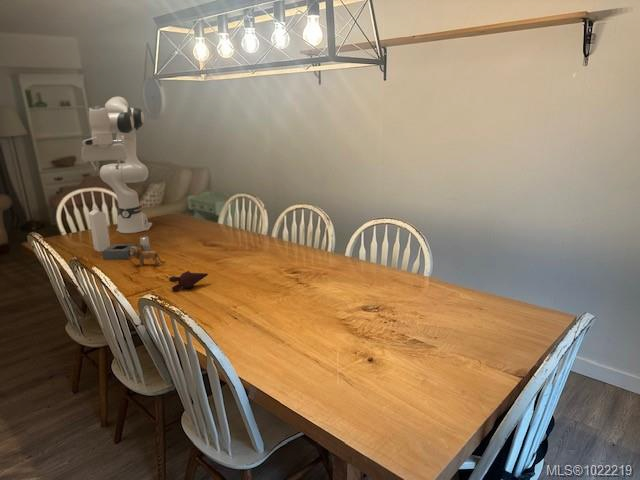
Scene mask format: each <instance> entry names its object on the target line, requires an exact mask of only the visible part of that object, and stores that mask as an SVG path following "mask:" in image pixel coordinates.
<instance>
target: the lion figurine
mask: <svg viewBox="0 0 640 480" xmlns="http://www.w3.org/2000/svg"><path fill="white" fill-rule="evenodd" d="M130 255H131V256H133V257H132V258H135V260H139V263H140V264H139V267H142V266H143V265H144V262H145V261H144V260H148V259H151V260H153V261H154V262H153V264H154V265H156V266H157V267H159V266H160V265H161V264H165V262H164V261H162V260H161V258H160V255H159V254H158V253H157V251H156V250H150V251H144V250H143V249H141V247H139V246H138V247H135V246H133V247H131V248H130ZM160 263H161V264H160Z"/></svg>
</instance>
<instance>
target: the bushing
mask: <svg viewBox="0 0 640 480" xmlns="http://www.w3.org/2000/svg"><path fill="white" fill-rule="evenodd" d="M139 243H140V248H141V249H143V250H144V251H151V245H150V240H149V236H145V235H143V236H140V237H139Z"/></svg>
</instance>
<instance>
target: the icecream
mask: <svg viewBox="0 0 640 480" xmlns="http://www.w3.org/2000/svg"><path fill="white" fill-rule="evenodd" d="M207 276H209V273H205V272H190V270H187V271H184V272H183V273H181V274H180V276H176V275H173V276H170V277H169V278H168V281H169V282H171V283H177V284H176V285H173V286H172V287H171V290H172V291H173V292H176V291H180V290H181V289H182V288H186V289H189V288H194V287H195V285H196V284H198V282H200V281H202V280H203V279H204V278H205V277H207Z"/></svg>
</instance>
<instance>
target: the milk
mask: <svg viewBox="0 0 640 480" xmlns="http://www.w3.org/2000/svg"><path fill="white" fill-rule="evenodd" d="M92 208H93V209H92V210H91V211H90V212H88V214H87V215H88V220H89V227H90V231H91V238H92V244H93V250H94V251H96V252H98V253H102V251H103V250H105V249H107V248H108V247H110V246H111V241H110V236H109V235H110V234H109V229H108V223H107V215H106V212H103V211H101V210H99V208H98V207H96V206H93V207H92Z"/></svg>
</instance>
